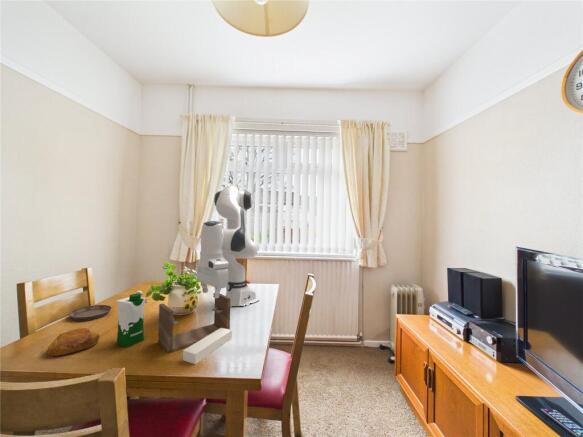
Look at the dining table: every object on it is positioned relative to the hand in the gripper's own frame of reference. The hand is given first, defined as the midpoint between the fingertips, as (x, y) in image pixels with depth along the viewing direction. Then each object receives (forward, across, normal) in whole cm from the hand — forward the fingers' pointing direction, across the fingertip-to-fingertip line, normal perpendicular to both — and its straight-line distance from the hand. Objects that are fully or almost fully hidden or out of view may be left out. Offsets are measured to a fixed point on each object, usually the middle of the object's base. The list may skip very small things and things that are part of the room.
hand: (210, 295), depth 103 cm
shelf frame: (+22, -13, 0) cm, 25 cm away
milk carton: (+22, -27, -22) cm, 41 cm away
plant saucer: (+22, -73, -30) cm, 82 cm away
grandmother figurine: (+22, -59, -11) cm, 64 cm away
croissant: (+22, -37, -39) cm, 58 cm away
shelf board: (+22, 0, 0) cm, 22 cm away
